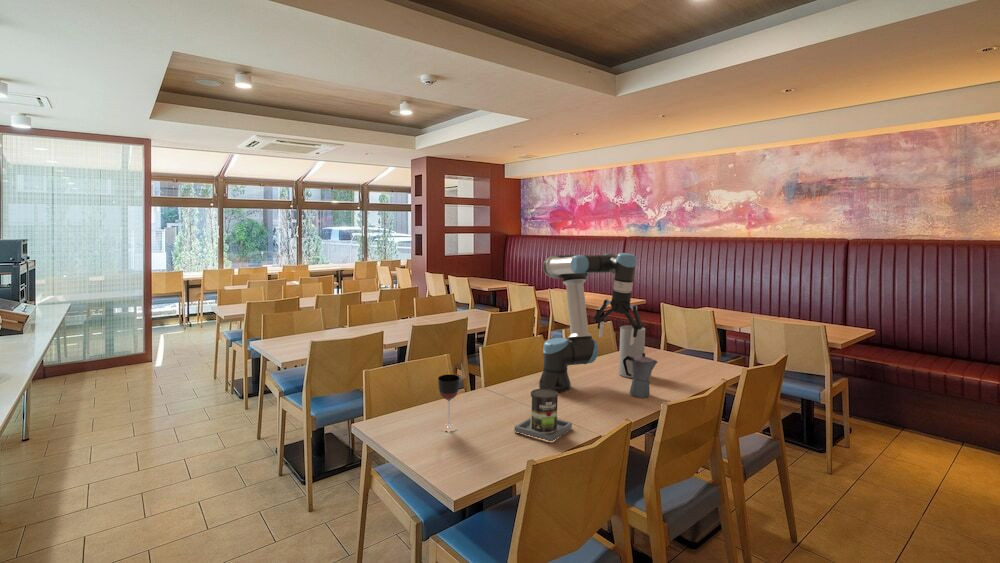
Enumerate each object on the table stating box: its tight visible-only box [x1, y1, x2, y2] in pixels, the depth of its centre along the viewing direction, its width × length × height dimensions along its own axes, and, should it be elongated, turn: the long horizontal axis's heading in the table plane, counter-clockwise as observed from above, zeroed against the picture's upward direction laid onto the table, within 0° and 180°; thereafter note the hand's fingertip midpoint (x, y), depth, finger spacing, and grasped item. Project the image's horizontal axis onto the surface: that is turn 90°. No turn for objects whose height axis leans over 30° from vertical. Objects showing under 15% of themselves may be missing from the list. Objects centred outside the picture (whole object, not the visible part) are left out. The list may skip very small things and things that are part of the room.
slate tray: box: [514, 416, 573, 441], centre depth 193 cm, size 16×16×2 cm
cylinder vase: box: [618, 325, 646, 379], centre depth 264 cm, size 12×12×25 cm
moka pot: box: [623, 352, 659, 399], centre depth 233 cm, size 10×15×20 cm, turn 78°
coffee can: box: [530, 388, 559, 434], centre depth 192 cm, size 10×10×14 cm
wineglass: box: [437, 374, 460, 428], centre depth 194 cm, size 8×9×20 cm
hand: (615, 340), depth 212 cm, fingers open, 13 cm apart
